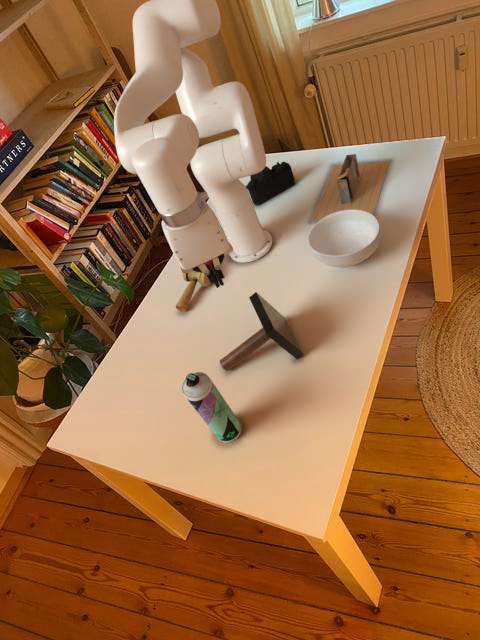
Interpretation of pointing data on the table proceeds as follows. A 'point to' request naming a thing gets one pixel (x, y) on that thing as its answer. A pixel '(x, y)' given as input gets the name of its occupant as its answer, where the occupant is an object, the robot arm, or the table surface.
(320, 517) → the table surface
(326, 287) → the table surface
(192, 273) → the kendama
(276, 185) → the film camera
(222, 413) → the spray can
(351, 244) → the cereal bowl
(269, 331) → the towel holder
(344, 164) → the ruin model on sheet
